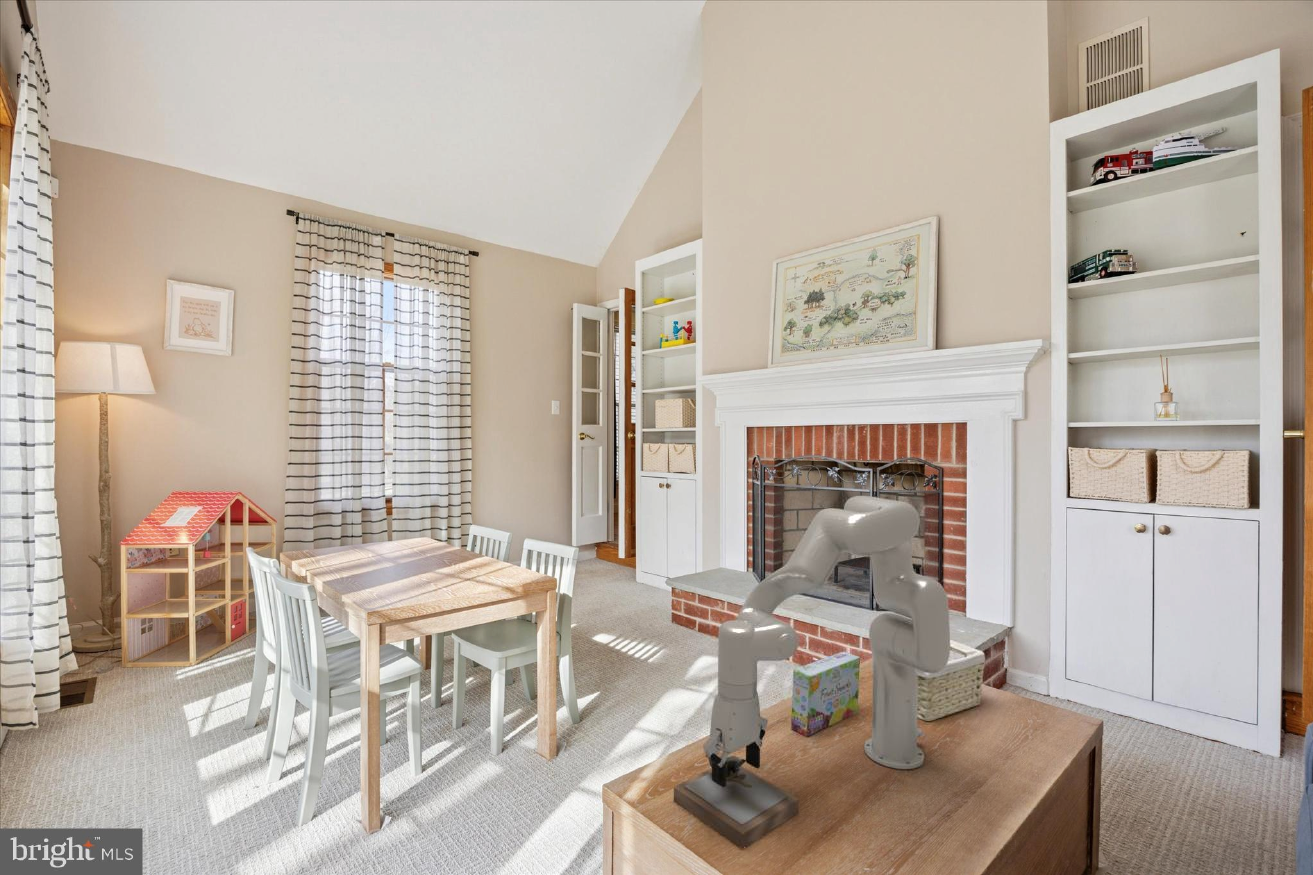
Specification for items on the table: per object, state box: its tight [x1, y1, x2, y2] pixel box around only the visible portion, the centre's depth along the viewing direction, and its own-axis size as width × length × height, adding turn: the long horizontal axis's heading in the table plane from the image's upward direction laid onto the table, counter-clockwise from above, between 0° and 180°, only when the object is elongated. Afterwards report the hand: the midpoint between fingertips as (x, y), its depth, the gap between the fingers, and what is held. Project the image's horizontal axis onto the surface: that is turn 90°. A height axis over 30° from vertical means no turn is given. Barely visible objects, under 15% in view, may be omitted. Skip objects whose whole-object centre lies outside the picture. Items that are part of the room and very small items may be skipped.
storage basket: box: [915, 639, 986, 722], centre depth 166 cm, size 24×16×15 cm
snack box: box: [790, 651, 861, 737], centre depth 155 cm, size 21×6×15 cm, turn 129°
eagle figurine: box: [708, 755, 752, 787], centre depth 122 cm, size 8×7×9 cm
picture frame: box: [673, 765, 800, 850], centre depth 120 cm, size 16×18×3 cm
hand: (736, 774), depth 120 cm, fingers open, 9 cm apart
